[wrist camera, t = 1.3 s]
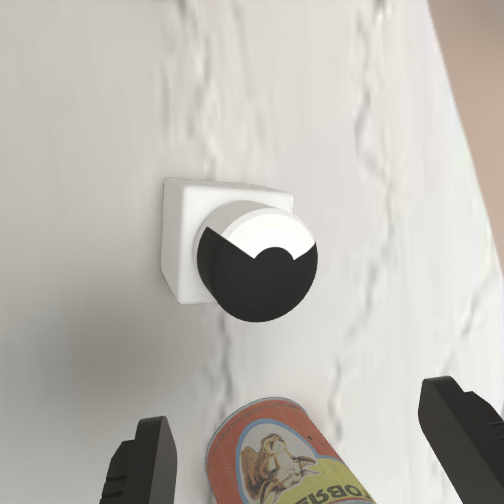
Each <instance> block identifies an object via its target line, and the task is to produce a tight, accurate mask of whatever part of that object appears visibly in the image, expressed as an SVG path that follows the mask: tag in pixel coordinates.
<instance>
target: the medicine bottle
mask: <svg viewBox="0 0 504 504" xmlns="http://www.w3.org/2000/svg"><path fill="white" fill-rule="evenodd" d="M294 199H295V198H294V195H293V194H292V193H290V192H286V191H281V190H276V189H271V188H266V187H261V186H257V185H252V184H239V183H226V182H214V181H201V180H188V179H176V178H167V179H166V180H165V182H164V198H163V223H162V247H161V271H162V273H163V275H164V277H165V279H166V281H167V283H168V285H169V287H170V289H171V291H172V292H173V294H174V296H175V298H176V300H177V302H178V303H180V304H198V303H217V302H218V303H219V305H220V306H221V307H222V308H223V309H224V310H225V311H226V312H228V313H229V314H230V315H232V316H234V317H235V318H237V319H240V320H243V321H248V322H266V321H270V320H274V319H276V318H279V317H281V316H283V315H285V314H286V313H288V312H289V311H291V310H292V309H293V308H295V307H296V306H297V305H298V304H299V303H300V302H301V300H302V299H303V298H304V297H305V295H306V294H307V292H308V291H309V289H310V287H311V285H312V283H313V280H314V278H315V274H316V270H317V263H318V254H317V247H316V243H315V239H314V237H313V235H312V233H311V231H310V229H309V228H308V226H307V225H306V224H305V223H304V222H303V221H302V220H301V219H300V218H299V217H297V216H296V215H294V214H293V208H294Z"/></svg>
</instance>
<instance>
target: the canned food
mask: <svg viewBox="0 0 504 504" xmlns="http://www.w3.org/2000/svg"><path fill="white" fill-rule="evenodd" d="M205 470H206V475H207V478H208V480H209V482H210V484H211V486H212V489H213V492H214V495H215V498H216V501H217V504H376V502H375V501H374V500H373V498H372V497H371V496H370V495H369V493H368V492H367V491H366V490H365V488H364V487H363V486H362V485H361V483H360V482H359V481H358V479H357V478H356V477H355V476H354V474H353V473H352V472H351V471H350V469H349V468H348V467H347V466H346V464H345V463H344V462H343V460H342V459H341V458H340V457H339V455H338V454H337V453H336V452H335V450H334V449H333V448H332V447H331V445H330V444H329V443H328V441H327V440H326V439H325V438H324V436H323V435H322V434H321V433H320V431H319V430H318V429H317V428H316V426H315V425H314V424H313V422H312V421H311V420H310V419H309V417H308V415H307V414H306V412H305V411H304V410H303V408H302V407H301V406H300V405H298V404H297V403H296V402H294V401H292V400H289V399H286V398H280V397H270V398H263V399H260V400H256V401H254V402H251V403H249V404H247V405H245V406H243V407H242V408H240V409H238V410H237V411H236V412H234V413H233V414H232V415H231V416H229V417H228V418H227V419H226V420H225V421H224V422H223V423H222V425H221V426H220V427H219V428H218V430H217V431H216V432H215V434H214V436H213V437H212V439H211V441H210V443H209V446H208V449H207V452H206V457H205Z"/></svg>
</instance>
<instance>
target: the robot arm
mask: <svg viewBox="0 0 504 504" xmlns="http://www.w3.org/2000/svg"><path fill="white" fill-rule="evenodd" d="M418 418H419V423H420V426H421V429H422V431H423V433H424V435H425V437H426V438H427V440H428V442H429V444H430V446H431V447H432V449H433V451H434V453H435V454H436V456H437V458H438V460H439V462H440V463H441V465H442V467H443V469H444V470H445V472H446V474H447V476H448V478H449V479H450V481H451V483H452V485H453V486H454V488H455V490H456V492H457V494H458V495H459V497H460V499H461V501H462V502H463V504H504V421H503V419H502V418H501V417H500V416H499V414H498V413H497V412H496V411H495V409H494V408H493V407H492V406H491V405H490V404H489V403H488V402H486V401H485V400H484V399H482V398H481V397H480V396H478V395H477V394H475V393H474V392H473V391H471V392H463V390H462V389H461V388H460V386H459V385H458V384H457V382H456V381H455V380H454V379H453V378H452V377H451V376H442V377H435V378H428V379H424V380H423V382H422V388H421V395H420V401H419V408H418ZM176 474H177V451H176V446H175V443H174V440H173V436H172V433H171V430H170V427H169V424H168V420H167V418H166V416H159V417H152V418H145V419H140V421H139V423H138V426H137V431H136V435H135V440H129V441H123V442H122V443H121V445H120V446H119V448H118V449H117V451H116V452H115V454H114V456H113V457H112V459H111V462H110V465H109V469H108V473H107V477H106V482H105V484H104V488H103V491H102V498H101V499H100V503H99V504H174V494H175V484H176Z"/></svg>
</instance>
